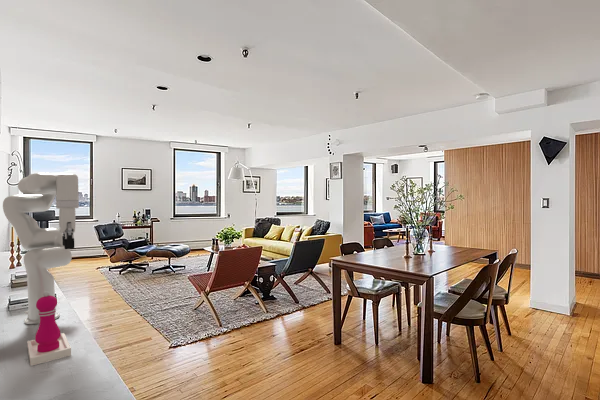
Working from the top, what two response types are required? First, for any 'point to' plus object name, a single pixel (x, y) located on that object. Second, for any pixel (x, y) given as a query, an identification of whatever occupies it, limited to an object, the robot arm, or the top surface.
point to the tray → (43, 357)
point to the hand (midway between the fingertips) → (68, 247)
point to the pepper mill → (47, 324)
